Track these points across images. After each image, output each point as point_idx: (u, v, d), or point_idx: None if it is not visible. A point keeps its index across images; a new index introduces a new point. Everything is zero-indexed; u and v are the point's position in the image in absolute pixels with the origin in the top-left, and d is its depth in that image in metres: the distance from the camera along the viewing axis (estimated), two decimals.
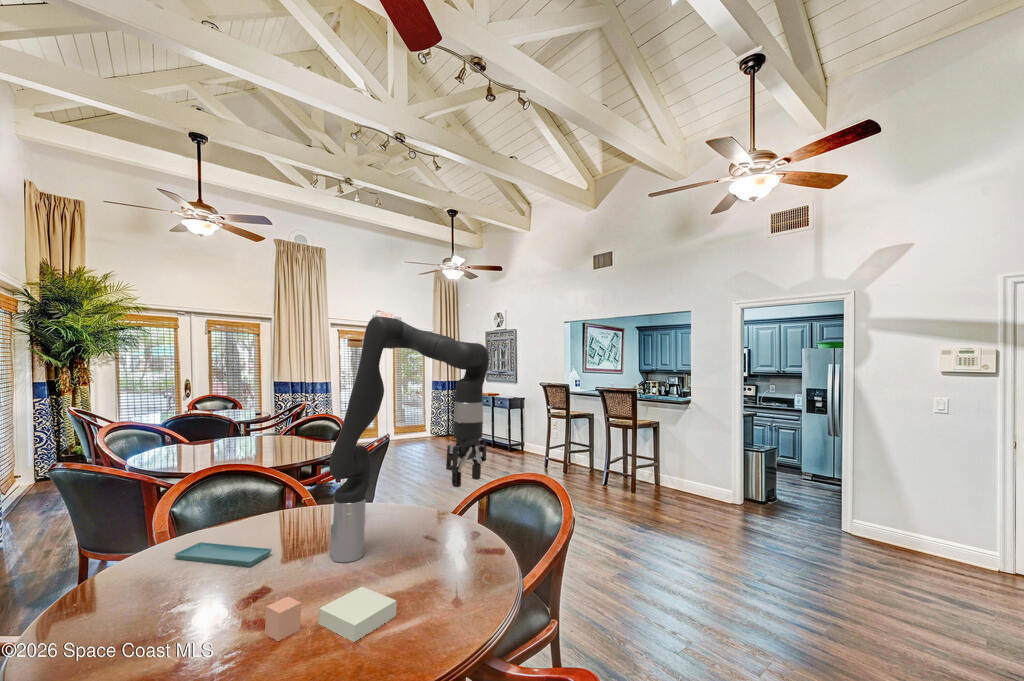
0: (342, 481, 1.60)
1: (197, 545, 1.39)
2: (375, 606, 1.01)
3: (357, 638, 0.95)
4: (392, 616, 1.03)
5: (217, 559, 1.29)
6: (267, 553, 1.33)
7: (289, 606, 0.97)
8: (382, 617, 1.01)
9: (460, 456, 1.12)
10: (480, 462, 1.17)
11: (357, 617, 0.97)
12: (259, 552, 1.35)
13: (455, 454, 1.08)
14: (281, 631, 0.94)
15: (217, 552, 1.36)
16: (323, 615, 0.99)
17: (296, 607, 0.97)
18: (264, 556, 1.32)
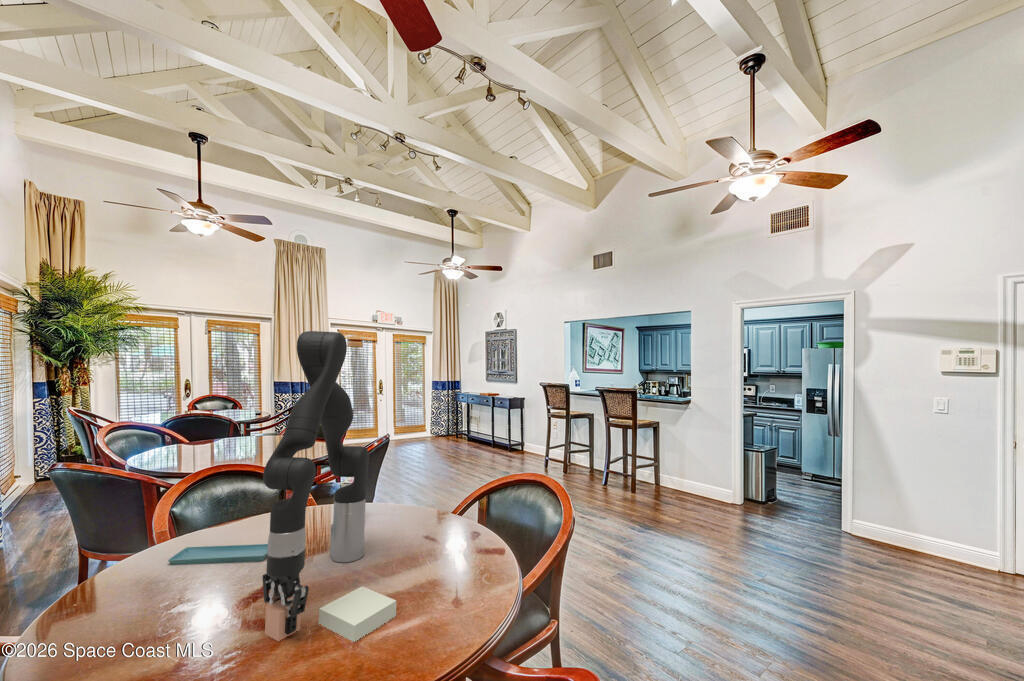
0: (342, 481, 1.60)
1: (185, 550, 1.35)
2: (375, 606, 1.01)
3: (357, 638, 0.95)
4: (392, 616, 1.03)
5: (223, 558, 1.29)
6: None
7: None
8: (382, 618, 1.01)
9: None
10: None
11: (357, 617, 0.97)
12: (261, 548, 1.38)
13: None
14: (281, 630, 0.94)
15: (213, 554, 1.35)
16: (323, 615, 0.99)
17: None
18: None
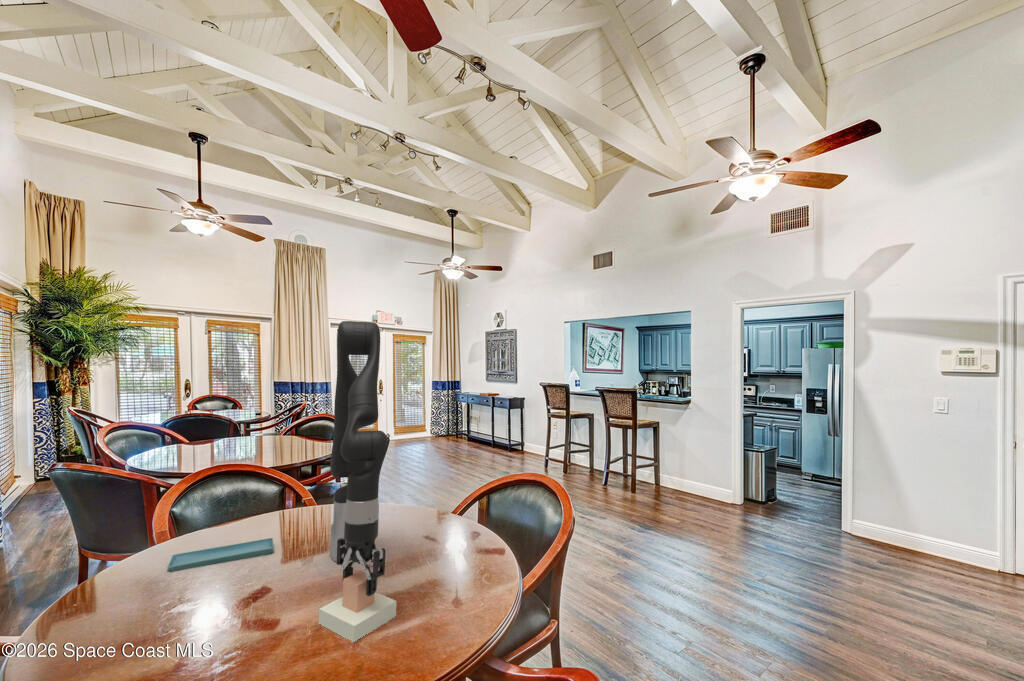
0: (342, 481, 1.60)
1: (173, 557, 1.30)
2: (375, 607, 1.01)
3: (357, 639, 0.95)
4: (392, 616, 1.03)
5: (231, 556, 1.31)
6: (272, 541, 1.42)
7: (365, 579, 1.02)
8: (382, 618, 1.01)
9: (367, 560, 1.01)
10: None
11: (357, 618, 0.97)
12: (258, 544, 1.41)
13: None
14: (359, 602, 1.00)
15: (208, 556, 1.33)
16: (323, 615, 0.99)
17: None
18: (271, 544, 1.41)
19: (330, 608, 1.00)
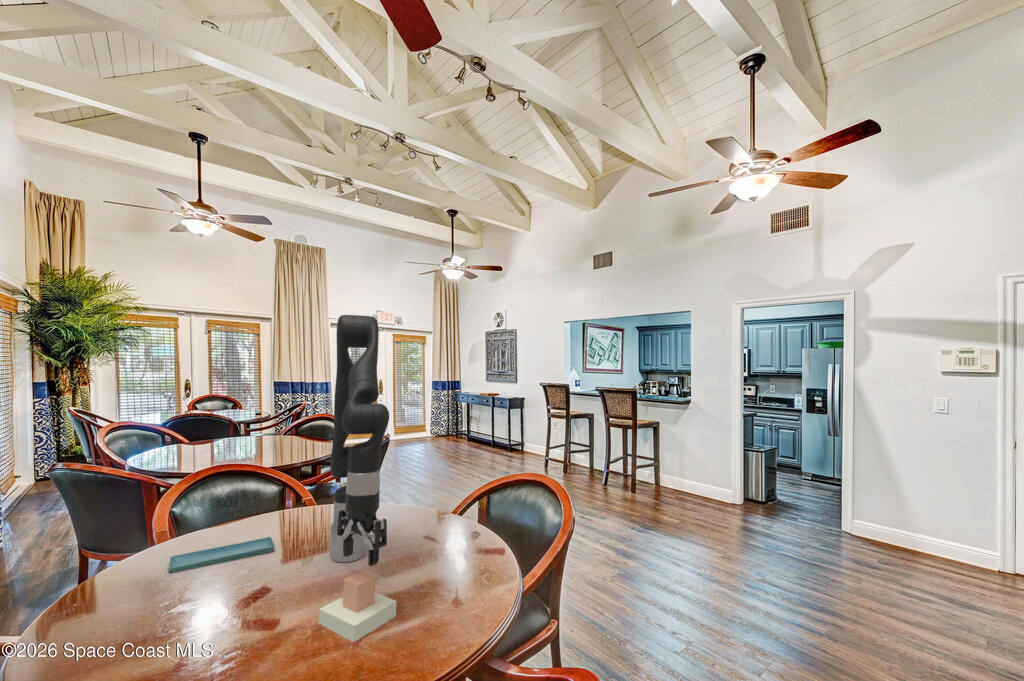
0: (342, 481, 1.60)
1: (171, 559, 1.29)
2: (375, 607, 1.01)
3: (357, 639, 0.95)
4: (392, 617, 1.03)
5: (233, 555, 1.31)
6: None
7: (365, 579, 1.02)
8: (382, 618, 1.01)
9: (368, 531, 1.02)
10: None
11: (357, 618, 0.97)
12: (256, 543, 1.42)
13: None
14: (359, 602, 1.00)
15: (207, 557, 1.33)
16: (323, 616, 0.99)
17: (371, 580, 1.02)
18: None
19: (330, 608, 1.00)
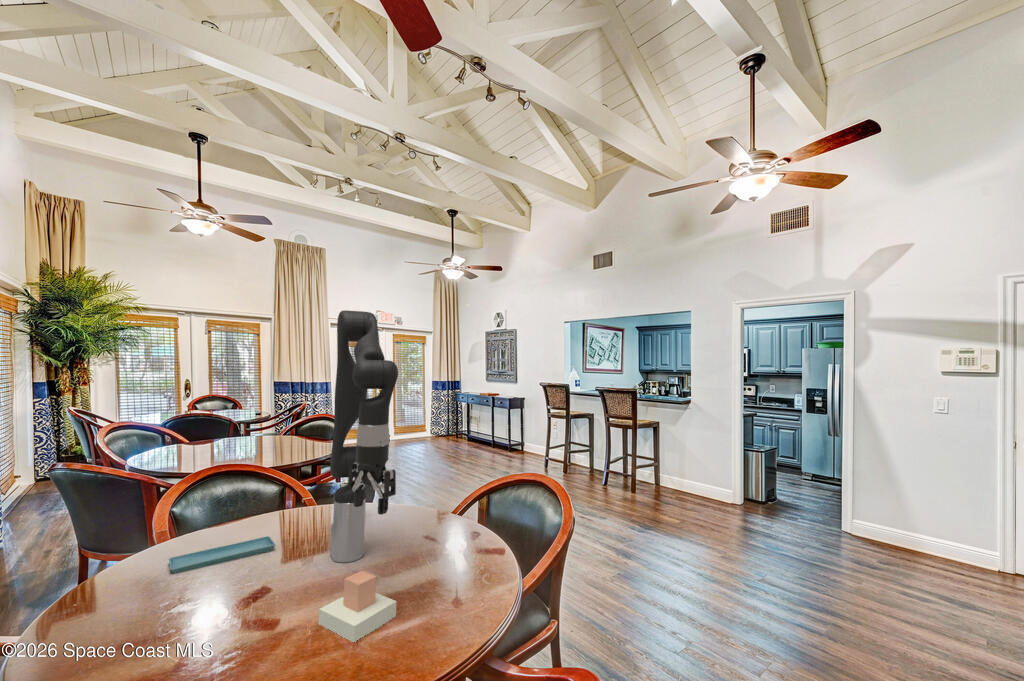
0: (342, 481, 1.60)
1: (170, 561, 1.28)
2: (375, 607, 1.01)
3: (357, 639, 0.94)
4: (392, 617, 1.03)
5: (234, 555, 1.31)
6: None
7: (366, 579, 1.02)
8: (382, 618, 1.01)
9: (378, 482, 1.06)
10: None
11: (357, 618, 0.97)
12: (255, 543, 1.42)
13: None
14: (360, 601, 1.00)
15: (206, 557, 1.32)
16: (323, 616, 0.99)
17: (372, 580, 1.03)
18: None
19: (330, 608, 1.00)
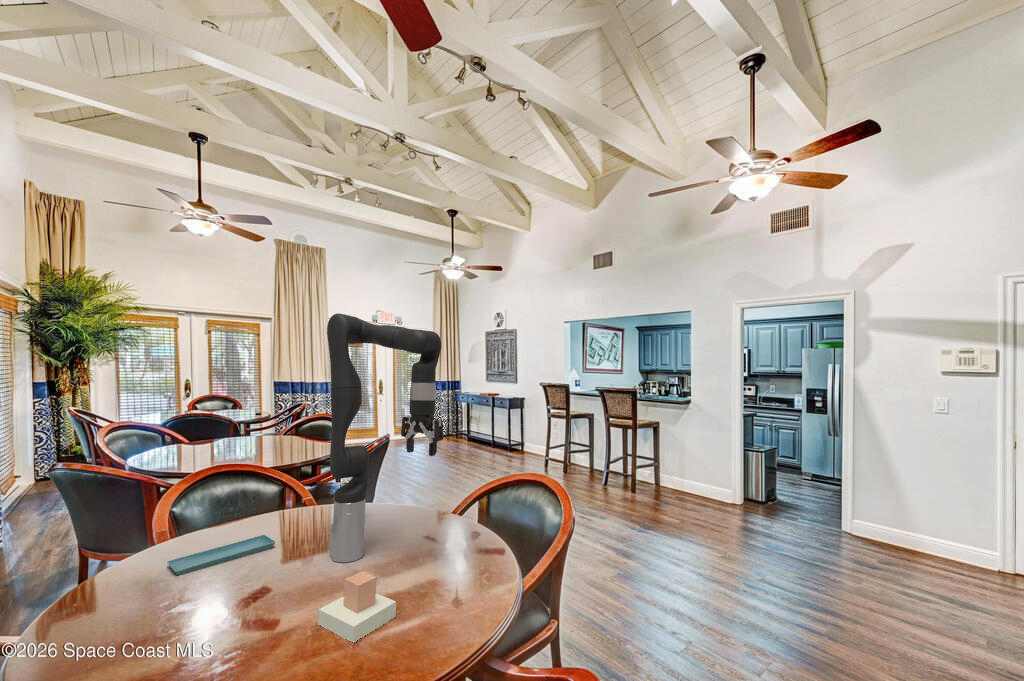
0: (342, 481, 1.60)
1: (169, 564, 1.26)
2: (374, 607, 1.01)
3: (356, 639, 0.94)
4: (392, 617, 1.03)
5: (237, 554, 1.32)
6: None
7: (366, 579, 1.02)
8: (382, 619, 1.00)
9: (428, 430, 1.28)
10: None
11: (356, 618, 0.97)
12: (251, 542, 1.43)
13: None
14: (359, 602, 0.99)
15: (205, 558, 1.32)
16: (322, 616, 0.99)
17: (372, 581, 1.02)
18: None
19: (329, 608, 1.00)
